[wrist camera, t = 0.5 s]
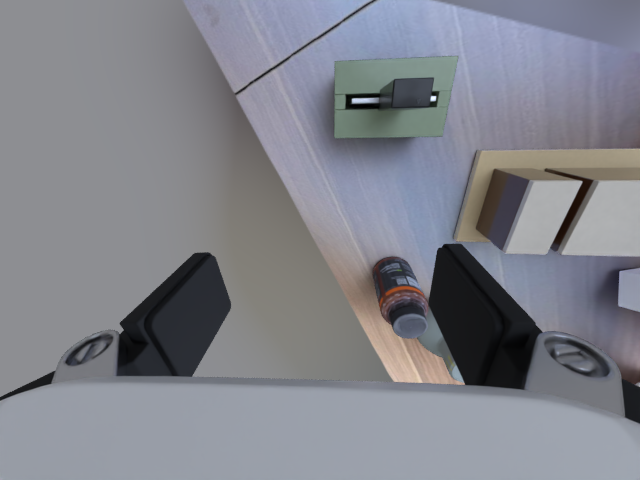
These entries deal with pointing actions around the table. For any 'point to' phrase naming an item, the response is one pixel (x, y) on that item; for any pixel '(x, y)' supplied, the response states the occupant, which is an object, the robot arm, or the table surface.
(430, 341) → the air freshener
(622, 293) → the pile of blocks
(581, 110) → the table surface
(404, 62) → the knife block
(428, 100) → the knife
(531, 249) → the cake
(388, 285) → the supplement bottle
